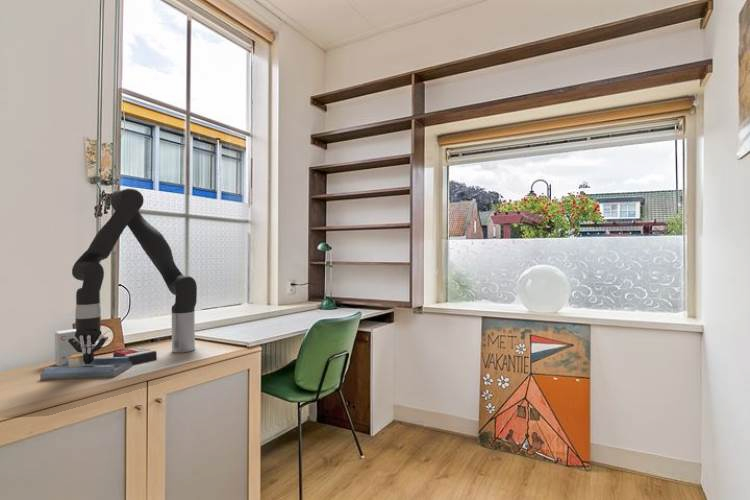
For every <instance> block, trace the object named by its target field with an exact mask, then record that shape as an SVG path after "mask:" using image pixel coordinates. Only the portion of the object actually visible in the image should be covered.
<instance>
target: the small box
mask: <svg viewBox="0 0 750 500" xmlns="http://www.w3.org/2000/svg"><path fill="white" fill-rule="evenodd" d="M75 333H76V329H75V328H72V329H64V330H58V331H57V330H56V331H54V355H55V356H54V358H55V360H54V362H55V365H56V366H57V367H58V366H60V365H63V364H65V360H66V359H68V357H70V356H73V355H78V354H83V353H81V352H77V351H76V350H75V349H74V347H73V346H72V345H71V344H70V343H69V342H68V340H69V339H71V338H73V337H74V336H75ZM78 341H79V340H78ZM79 343H80V342H79ZM80 344H81V343H80Z"/></svg>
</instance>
